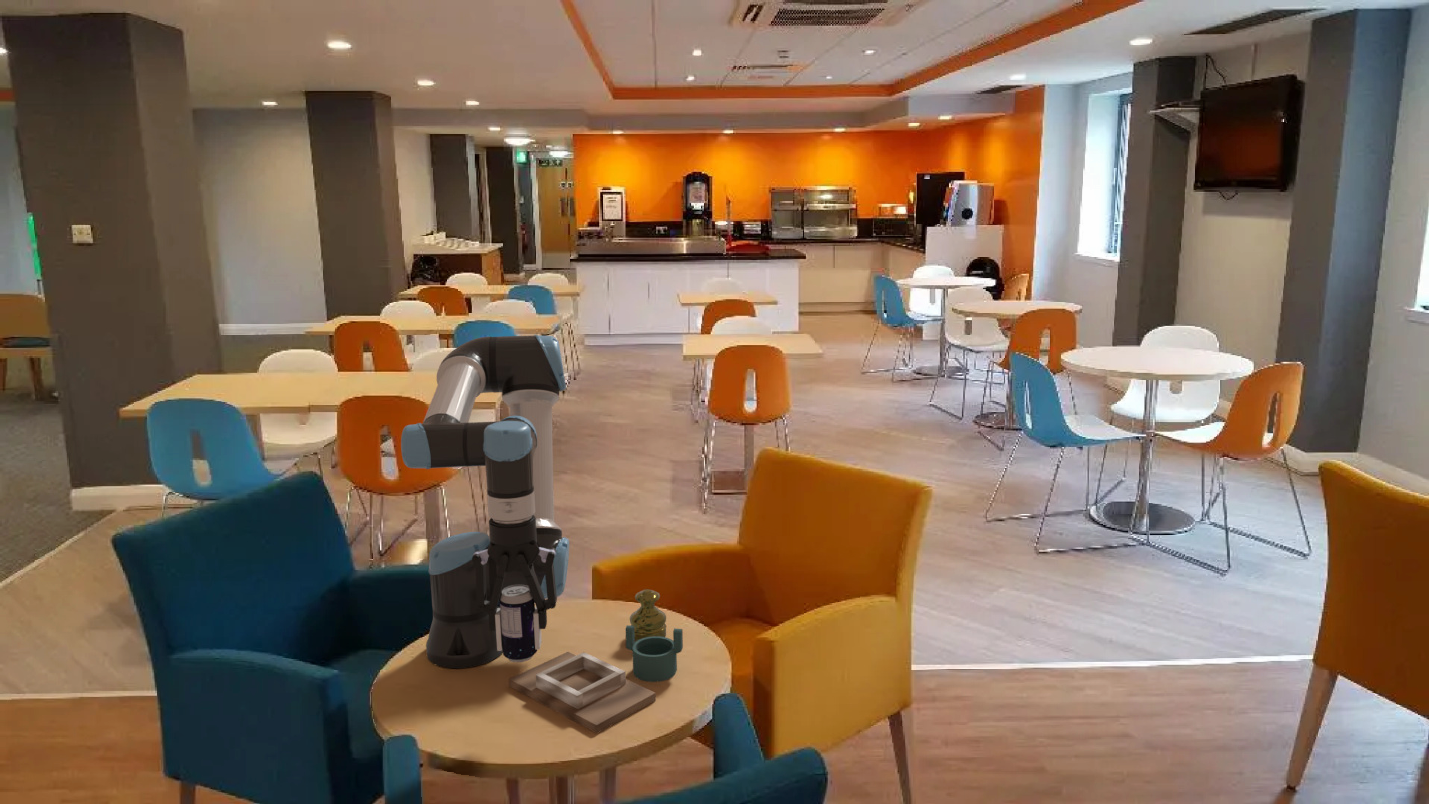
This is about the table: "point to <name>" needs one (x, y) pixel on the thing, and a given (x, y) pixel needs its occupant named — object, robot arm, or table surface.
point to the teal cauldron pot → (654, 655)
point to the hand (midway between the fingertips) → (519, 646)
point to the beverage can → (517, 623)
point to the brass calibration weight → (648, 616)
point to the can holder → (583, 690)
